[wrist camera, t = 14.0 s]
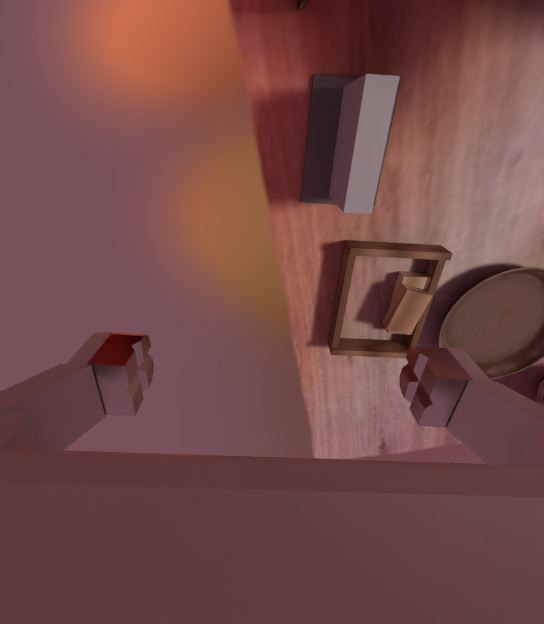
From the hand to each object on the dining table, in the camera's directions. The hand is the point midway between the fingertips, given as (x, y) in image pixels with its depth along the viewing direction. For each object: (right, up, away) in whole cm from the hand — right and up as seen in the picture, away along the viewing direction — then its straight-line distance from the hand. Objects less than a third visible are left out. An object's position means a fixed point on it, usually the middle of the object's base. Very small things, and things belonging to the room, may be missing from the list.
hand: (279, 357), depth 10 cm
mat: (+9, +22, +30) cm, 39 cm away
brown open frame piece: (+17, +4, +41) cm, 44 cm away
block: (+9, +22, +30) cm, 38 cm away
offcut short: (+20, +2, +39) cm, 44 cm away
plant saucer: (+37, 0, +43) cm, 57 cm away
